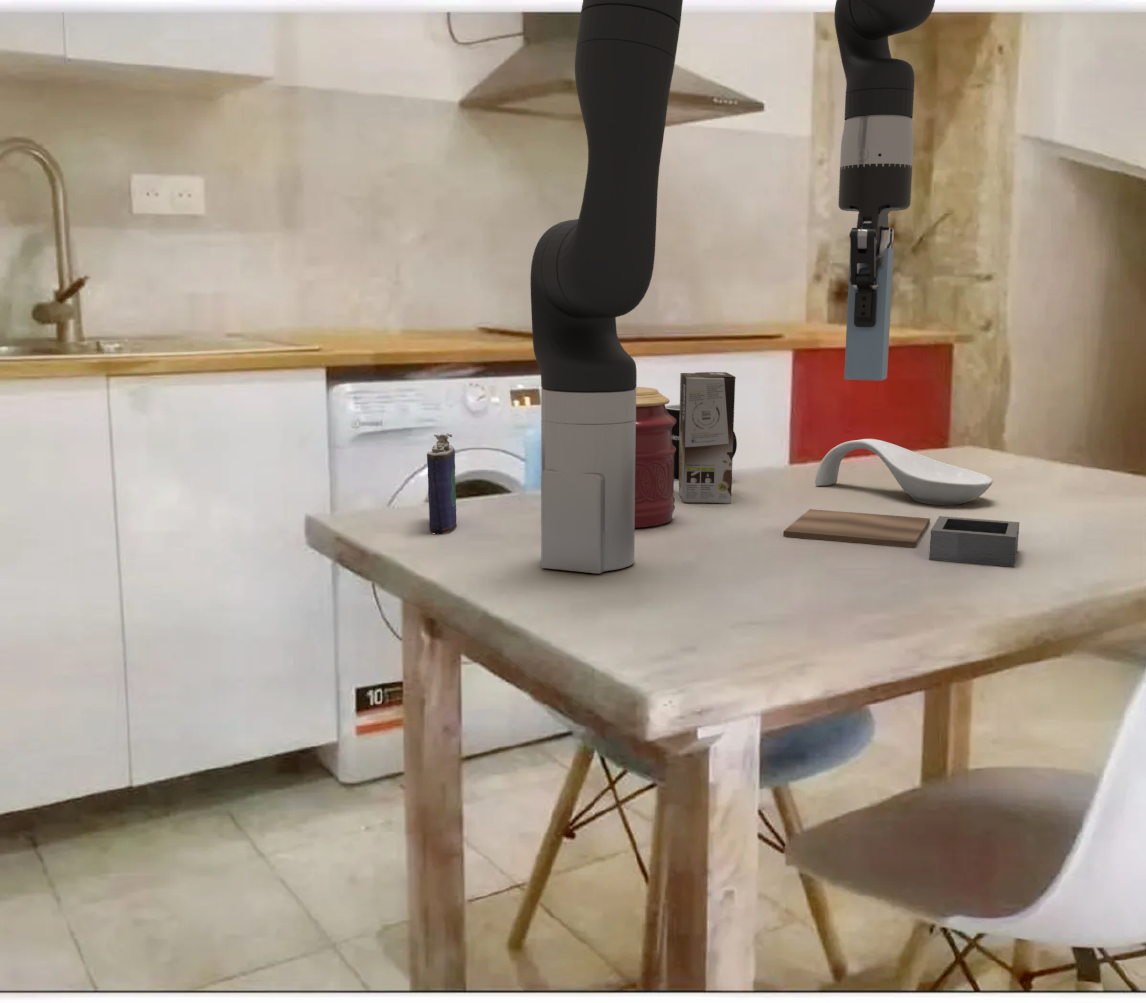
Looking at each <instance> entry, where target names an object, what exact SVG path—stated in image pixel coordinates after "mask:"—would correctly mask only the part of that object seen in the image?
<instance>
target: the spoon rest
mask: <svg viewBox="0 0 1146 1003" xmlns="http://www.w3.org/2000/svg"><path fill="white" fill-rule="evenodd" d="M860 449H861V450H862V449H863V450H868V451H870V452H872V453H873V454H875V455H877V457H879V458H880V460H882V462H883V463H884V464H885V466H886V467H887V468H888V470H889V472H890V473H891V474H892V476H893V477H894V479H895V480H896V482H897V483H898V484H899V486H900V488H902V490H903V491H904V492H905V493H906V494H907V495H909V496H910V497H912V499H913V500H914V501H916V502H919V503H922V504H927V505H929V504H930V505H938V506H939V505H940V506H941V505H942V506H954V505H963V504H966V503H969V502H971V501H974V500H976V499H977V498H980V497H981V496H982V495H983V494H984V493H986V491H987V490H988V489H989V488H990V487H991V486H992V484H993V478H991V477H990V476H988V475H986V474H984V473H980V472H978V471H975V470H970V469H967V468H963V467H960V466H957V465H952V464H950V463H949V464H948V463H945V462H943V461H938V460H935V459H933V458H931V457H928V456H926V455H923V454H920V453H917V452H916V451H912V450H910V449H908V448H905V447H902V446H899V445H897V444H893V443H891V442H887V441H884V440H882V439H881V440H880V439H875V438H862V439H857V440H855V439H854V440H849V441H845V442H842V443H840V444H838V445H835V447H833V448H831V449H830V450H829V451H828V452H827V453H826V455H824V457H823V458H822V459H821V462H820V464H819V466H818V468H817V472H816V474H815V475H816V476H815V481H814V484H815V486H818V487H825V486H830V485H834V484H836V483H838V476H839V471H840V465H841V462H842V461H843V458H844V457H845V456H846V455H847V454H849V453H850V452H852V451H855V450H860ZM962 503H963V504H962Z"/></svg>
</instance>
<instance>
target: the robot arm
mask: <svg viewBox="0 0 1146 1003" xmlns="http://www.w3.org/2000/svg"><path fill="white" fill-rule="evenodd" d="M683 1H684V0H582V3H581V10H580V18H579V25H578V32H577V40H576V47H575V55H574V78H575V86H576V92H577V97H578V102H579V107H580V112H581V116H582V120H583V124H584V128H585V133H586V140H587V141H586V142H587V152H588V153H587V159H588V160H587V170H586V179H585V184H584V192H583V197H582V203H581V207H580V212H579V216H578V218H577V219H576V218H575V219H569V220H568V219H567V220H565V221H561V222H558V223H556V224H554V225H552V226H551V227H550V228H548V229H547V230H546V231H545V232H544V233H543V234H542V236H541V237H540V238H539V239H538V242H537V243H536V245H535V247H534V251H533V255H532V260H531V266H530V283H529V284H530V306H531V308H530V311H531V330H532V332H531V333H532V347H533V352H534V357H535V361H536V363H537V365H538V368H539V372H540V387H541V388H540V389H541V391H540V393H541V394H540V396H541V397H540V399H541V400H540V402H541V404H540V411H541V412H540V413H541V414H540V416H541V419H540V429H541V430H540V433H541V434H540V446H541V447H540V451H541V452H540V455H541V456H540V459H541V460H540V461H541V462H540V467H541V470H540V471H541V472H540V474H541V476H540V497H541V498H540V535H541V536H540V541H541V542H540V543H541V544H540V546H541V547H540V549H541V551H540V553H541V554H540V557H541V558H540V560H541V561H540V563H541V564H540V566H541V568H542V569H549V570H551V569H552V570H561V571H569V572H580V573H582V572H583V573H588V574H589V573H591V574H601V573H603V572H608V571H614V570H615V571H616V570H619V569H624V568H627V567H630V566H632V565H633V564H634V562H635V541H636V540H635V536H636V535H635V531H636V528H635V446H636V387H637V377H638V376H637V365H636V361H635V360H634V358H633V357H632V356H631V355H630V354H629V353H628V352H627V351H626V350H625V348H624V347H623V346H622V344H621V342H620V339H619V337H618V332H617V320H616V319H617V318H619V317H622V316H625V315H627V314H629V313H630V312H632V311H633V310H634V309H636V308H637V307H638V306H639V304H640V303H641V302H642V301H643V299H644V297H645V296H646V293H647V291H648V289H649V287H650V284H651V281H652V276H653V271H654V265H655V256H656V241H657V240H656V238H657V214H658V211H657V210H658V192H659V191H658V190H659V174H660V165H661V159H662V158H661V156H662V150H663V144H664V135H665V128H666V120H667V115H668V114H667V113H668V106H669V105H668V104H669V99H670V98H669V97H670V91H671V90H670V89H671V87H672V86H671V85H672V79H673V74H674V68H675V64H676V56H677V49H678V42H679V36H680V30H681V29H680V28H681V21H682V9H683V4H684V2H683ZM935 2H936V0H836V2H835V6H834V15H833V16H834V26H835V27H834V28H835V33H836V39H837V44H838V49H839V54H840V58H841V64H842V69H843V72H844V75H845V76H844V77H845V80H846V81H845V82H846V86H845V98H844V99H845V103H844V104H845V105H844V122H843V123H844V125H843V131H842V136H841V143H840V158H839V159H840V160H839V161H840V162H839V179H838V180H839V184H838V208H839V209H840V210H841V211H845V212H858V214H857V222H856V227H852V228H851V229H850V232H849V240H850V244H849V245H850V247H849V248H850V249H851V277H850V282H851V285H853V288H854V291H858V292H855V311H854V325H855V326H856V327H873V326H874V325H875V324H876V307H877V292H873V291H878V288H879V272H880V270H882V269H883V268H884V262H885V248H890V249H893V242H894V240H895V237H894V235H895V230H894V228H893V227H890V226H889V214H890V213H891V212H895V211H897V212H900V211H905V210H907V209H909V208H910V206H911V202H912V201H911V198H912V195H911V194H912V180H913V166H914V165H913V164H914V163H913V160H914V147H915V146H914V144H915V143H914V141H915V140H914V128H913V117H914V116H913V114H914V99H915V98H914V96H915V71H914V68H913V65H911V63H909V62H908V61H906V60H903V59H899V58H893V57H892V55H891V50H890V46H889V37H891V36H894V35H898V34H901V33H905V32H909V31H912V30H914V29H916V28H918V27H919V26H921V25H923V23H925V21H926V20H927V19H928V18H929V16H930V15H931V14H932V11H933V9H934V7H935ZM879 248H880V253H879ZM878 254H879V258H878V259H877V260H876V257H877V256H878ZM862 270H870V273H861V271H862Z"/></svg>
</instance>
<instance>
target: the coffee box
mask: <svg viewBox="0 0 1146 1003" xmlns="http://www.w3.org/2000/svg"><path fill="white" fill-rule="evenodd" d="M736 378H737V377H736V376H734V374H733V375H732V374H730V373H729V372H722V371H706V372H705V371H703V372H699V371H698V372H680V378H679V386H680V387H679V404H680V431H679V479H678V492H680V493H679V495H680V497H681V499H682V502H683V503H700V504H701V503H702V504H703V503H704V504H705V503H706V504H707V503H708V504H709V503H710V504H714V503H715V504H730V503H732V489H733V488H732V485H733V462H734V461H733V458H734V457H733V431H734V430H735V429H734V428H735V427H734V424H735V423H734V422H735V399H736V398H735V397H736V396H735V395H736V393H735V392H736Z"/></svg>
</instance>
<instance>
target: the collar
mask: <svg viewBox="0 0 1146 1003" xmlns="http://www.w3.org/2000/svg"><path fill="white" fill-rule="evenodd" d="M1019 531H1020V522H1019V521H1010V520H1009V521H1008V520H995V519H994V520H993V519H982V518H969V517H954V516H942V515H939V516H938V517H937V519H936V521H935V523H934V524H933V526H932V527H931V529H930V536H929V554H928V555H929V556H928V560H933V561H945V562H953V563H954V562H956V563H964V564H965V563H966V564H975V565H977V564H978V565H988V566H999V567H1001V566H1002V567H1011V568H1014V567H1015V563H1016V559H1017V554H1018V549H1019V548H1018V547H1019V534H1020V532H1019Z"/></svg>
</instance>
